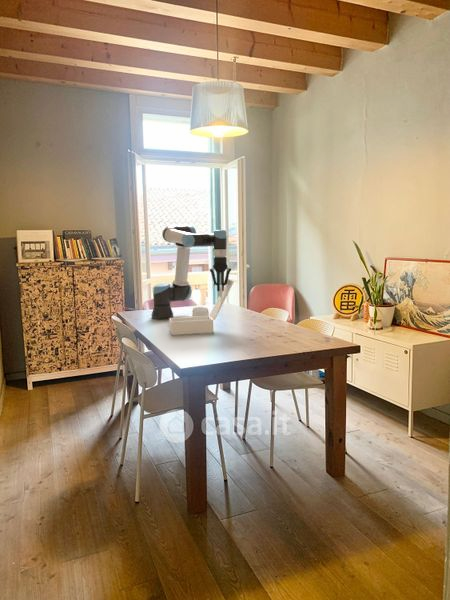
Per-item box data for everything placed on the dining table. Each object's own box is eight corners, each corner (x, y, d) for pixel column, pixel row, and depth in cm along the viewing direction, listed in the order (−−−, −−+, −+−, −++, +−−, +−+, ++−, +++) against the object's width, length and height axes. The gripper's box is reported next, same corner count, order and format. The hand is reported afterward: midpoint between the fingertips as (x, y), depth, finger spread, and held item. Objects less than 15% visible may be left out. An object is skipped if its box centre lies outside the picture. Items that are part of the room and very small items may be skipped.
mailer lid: (225, 278, 269) (228, 279, 269) (206, 314, 269) (209, 316, 270) (230, 280, 256) (233, 281, 256) (211, 318, 256) (214, 320, 257)
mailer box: (169, 331, 265) (169, 318, 264) (208, 328, 270) (208, 315, 269) (172, 335, 252) (171, 322, 251) (213, 333, 258) (213, 319, 257)
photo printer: (209, 325, 280) (208, 306, 278) (208, 327, 276) (208, 307, 274) (193, 325, 281) (192, 306, 279) (192, 327, 277) (191, 307, 275)
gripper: (210, 257, 254) (211, 297, 257) (232, 256, 257) (232, 297, 260) (208, 256, 261) (208, 296, 265) (229, 256, 264) (229, 295, 268)
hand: (220, 296), depth 262 cm, fingers closed
